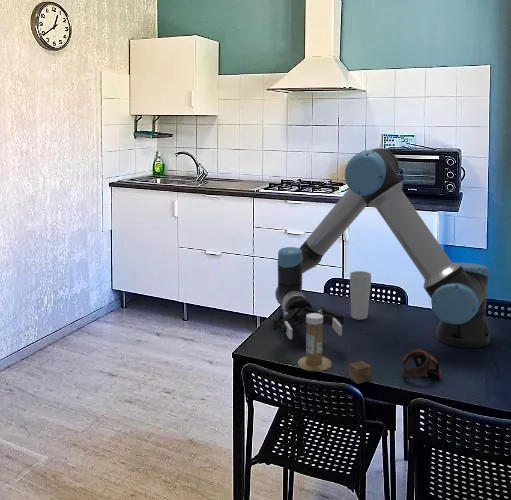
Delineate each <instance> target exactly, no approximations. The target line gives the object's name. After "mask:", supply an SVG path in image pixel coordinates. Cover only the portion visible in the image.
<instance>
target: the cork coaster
mask: <svg viewBox="0 0 511 500" xmlns="http://www.w3.org/2000/svg"><path fill="white" fill-rule="evenodd" d="M297 366H298V367H299V368H300V369H302V370H303V371H304V370H305V371H308V372H323V371H328V370H329V369H330V368H332V360H331V359H329V358H327V357H325V356H322V363H321V364H319V365H310V364H308V363H307V362H306V356H303V357H300V358H299V359H298V361H297Z"/></svg>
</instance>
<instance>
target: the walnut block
mask: <svg viewBox="0 0 511 500" xmlns="http://www.w3.org/2000/svg"><path fill="white" fill-rule="evenodd" d="M348 364H349V366H348V367H349V368H348V378H349V379H350V380H351V381H352V382H354V383H355V384H357V385H359V384H364V383H368V382H371V380H372V366H371V365H370V364H368V363H366V362H365V361H363V360H360V361H359V360H358V361H355V362H351V363H348Z"/></svg>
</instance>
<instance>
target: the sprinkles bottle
mask: <svg viewBox="0 0 511 500" xmlns="http://www.w3.org/2000/svg"><path fill="white" fill-rule="evenodd" d="M305 323H306V333H305V334H306V335H305V338H306V339H305V341H306V342H305V347H306V349H305V351H306V352H305V353H306V356H305V357H306V362H307V363H308V364H310V365H319V364H321V363H322V357H323V324H324V323H323V315H321V314H319V313H310V314H307V315H306V321H305Z"/></svg>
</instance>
